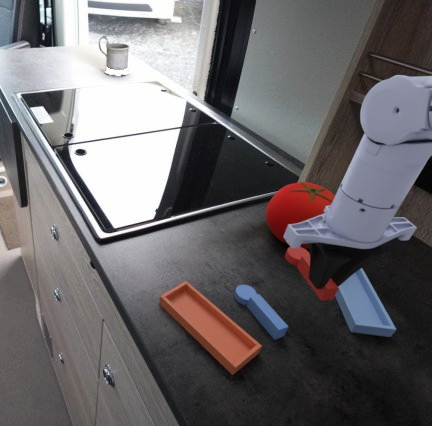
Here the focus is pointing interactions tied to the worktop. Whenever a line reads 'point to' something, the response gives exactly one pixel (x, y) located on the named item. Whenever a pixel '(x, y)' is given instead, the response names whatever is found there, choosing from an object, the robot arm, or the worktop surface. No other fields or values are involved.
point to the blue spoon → (261, 311)
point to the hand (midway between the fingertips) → (322, 282)
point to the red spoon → (302, 261)
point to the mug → (116, 55)
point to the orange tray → (210, 327)
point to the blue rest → (363, 307)
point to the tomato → (296, 206)
